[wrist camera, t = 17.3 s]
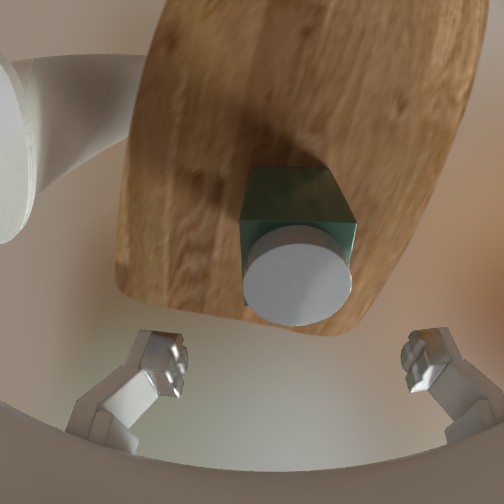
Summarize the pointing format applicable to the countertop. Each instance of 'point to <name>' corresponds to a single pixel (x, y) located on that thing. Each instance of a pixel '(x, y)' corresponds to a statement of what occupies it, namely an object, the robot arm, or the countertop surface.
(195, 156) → the countertop surface
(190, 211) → the countertop surface
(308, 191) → the green box with disc
